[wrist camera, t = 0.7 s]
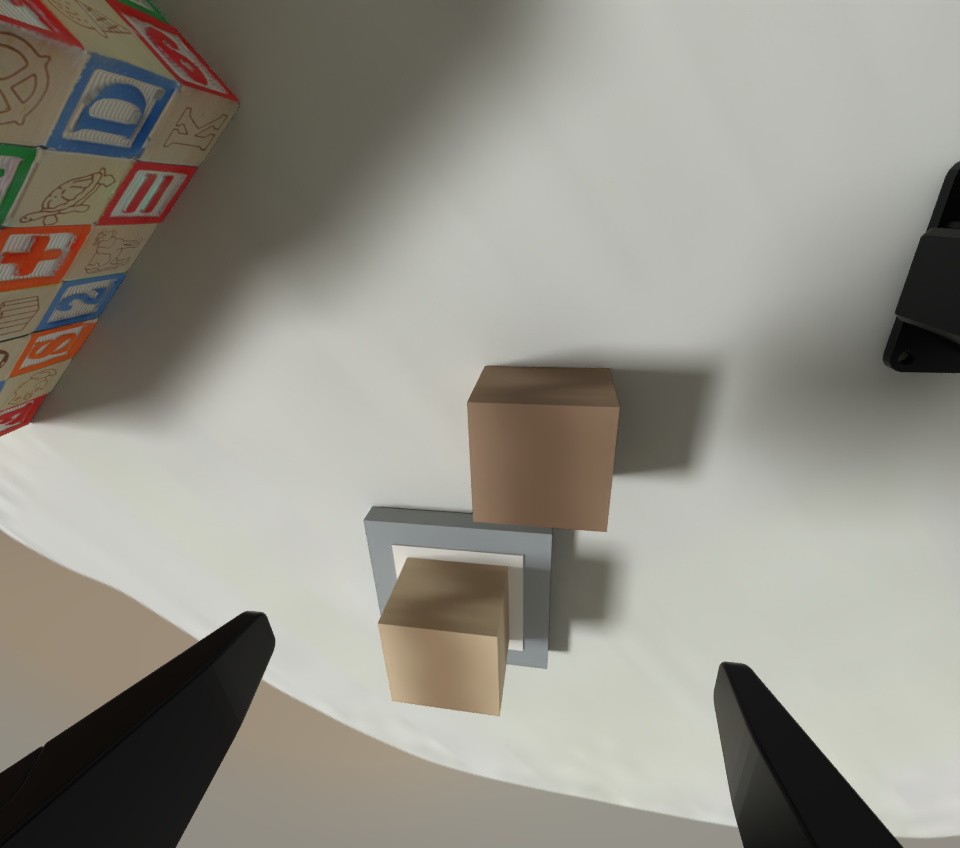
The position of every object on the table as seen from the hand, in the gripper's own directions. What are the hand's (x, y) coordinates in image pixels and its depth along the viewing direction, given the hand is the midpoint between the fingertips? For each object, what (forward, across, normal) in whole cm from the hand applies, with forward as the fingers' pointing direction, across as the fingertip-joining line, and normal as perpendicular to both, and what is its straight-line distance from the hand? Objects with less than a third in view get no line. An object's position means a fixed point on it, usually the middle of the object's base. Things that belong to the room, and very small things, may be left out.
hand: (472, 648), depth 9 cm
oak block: (+10, +4, +10) cm, 15 cm away
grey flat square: (+12, +4, +10) cm, 16 cm away
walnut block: (+12, -1, +1) cm, 12 cm away
